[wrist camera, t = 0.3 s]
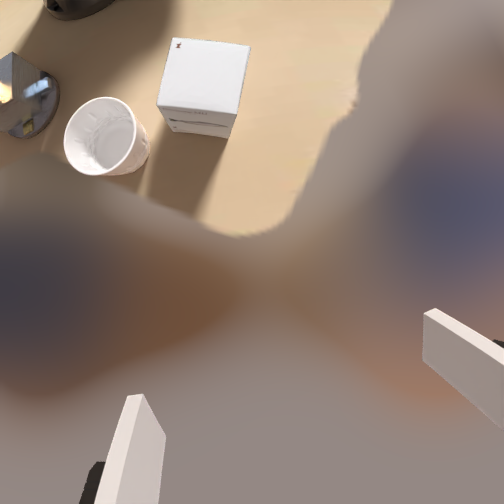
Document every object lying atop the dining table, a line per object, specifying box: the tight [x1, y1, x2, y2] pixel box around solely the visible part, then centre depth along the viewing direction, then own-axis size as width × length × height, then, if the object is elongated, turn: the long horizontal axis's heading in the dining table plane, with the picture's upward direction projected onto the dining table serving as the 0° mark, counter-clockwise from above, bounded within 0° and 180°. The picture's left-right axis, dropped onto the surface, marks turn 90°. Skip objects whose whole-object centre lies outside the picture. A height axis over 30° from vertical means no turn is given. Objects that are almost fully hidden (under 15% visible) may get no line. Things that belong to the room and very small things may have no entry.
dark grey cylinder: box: [7, 71, 60, 139], centre depth 27 cm, size 10×10×9 cm
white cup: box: [64, 97, 150, 176], centre depth 30 cm, size 8×8×10 cm
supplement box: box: [157, 37, 251, 139], centre depth 29 cm, size 7×7×13 cm
